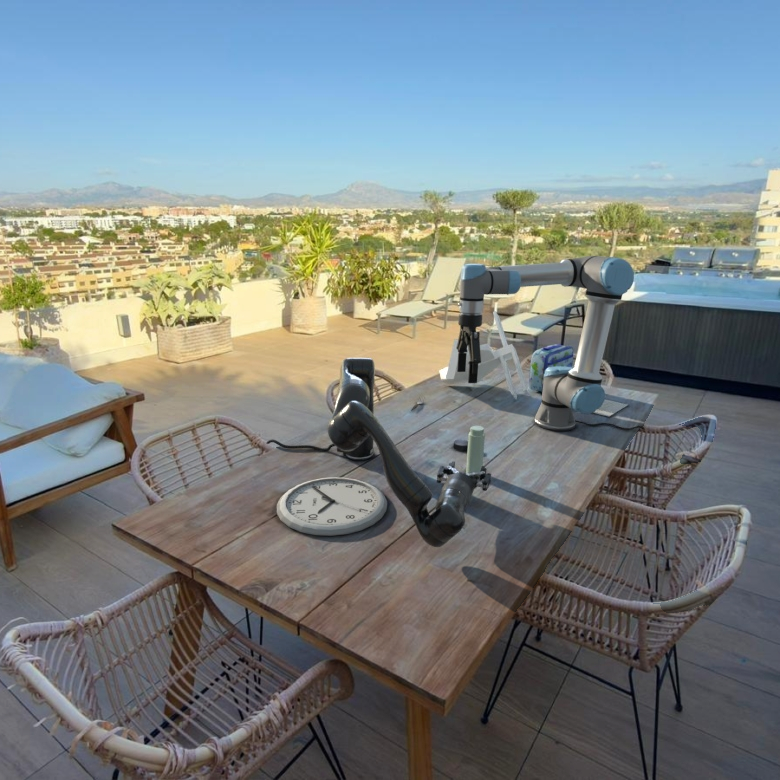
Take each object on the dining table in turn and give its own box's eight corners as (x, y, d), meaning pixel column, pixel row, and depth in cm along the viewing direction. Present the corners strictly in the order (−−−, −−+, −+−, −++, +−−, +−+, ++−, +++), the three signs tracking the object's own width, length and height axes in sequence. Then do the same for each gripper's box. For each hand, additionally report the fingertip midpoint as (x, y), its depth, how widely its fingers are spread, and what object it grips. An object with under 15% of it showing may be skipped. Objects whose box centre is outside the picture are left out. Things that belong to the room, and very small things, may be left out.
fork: (408, 411, 216) (408, 407, 215) (419, 400, 230) (419, 396, 229) (414, 412, 215) (414, 407, 214) (425, 401, 229) (425, 396, 229)
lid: (469, 452, 178) (469, 446, 178) (452, 450, 179) (452, 444, 179) (470, 445, 184) (470, 440, 183) (454, 444, 185) (454, 438, 184)
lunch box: (545, 397, 238) (550, 352, 231) (524, 391, 245) (529, 348, 239) (572, 386, 255) (578, 344, 249) (552, 381, 262) (557, 340, 256)
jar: (483, 477, 160) (486, 431, 156) (467, 477, 160) (470, 430, 156) (480, 470, 165) (483, 425, 161) (465, 470, 165) (468, 425, 160)
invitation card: (608, 416, 214) (573, 407, 224) (608, 416, 214) (573, 408, 224) (628, 404, 229) (594, 396, 238) (628, 405, 229) (594, 397, 238)
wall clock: (392, 527, 129) (268, 531, 127) (391, 533, 130) (269, 537, 127) (383, 473, 158) (282, 475, 155) (383, 478, 158) (282, 480, 156)
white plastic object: (461, 429, 252) (437, 405, 227) (444, 352, 274) (420, 323, 250) (535, 404, 240) (518, 377, 215) (510, 326, 262) (492, 293, 237)
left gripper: (429, 500, 138) (443, 474, 153) (483, 510, 134) (492, 482, 149) (430, 475, 136) (444, 451, 151) (485, 484, 132) (494, 458, 146)
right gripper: (449, 307, 179) (446, 367, 185) (470, 320, 155) (465, 388, 162) (471, 307, 180) (467, 367, 186) (494, 320, 156) (489, 387, 163)
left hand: (468, 466), depth 150 cm, fingers open, 8 cm apart
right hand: (466, 377), depth 174 cm, fingers open, 13 cm apart
